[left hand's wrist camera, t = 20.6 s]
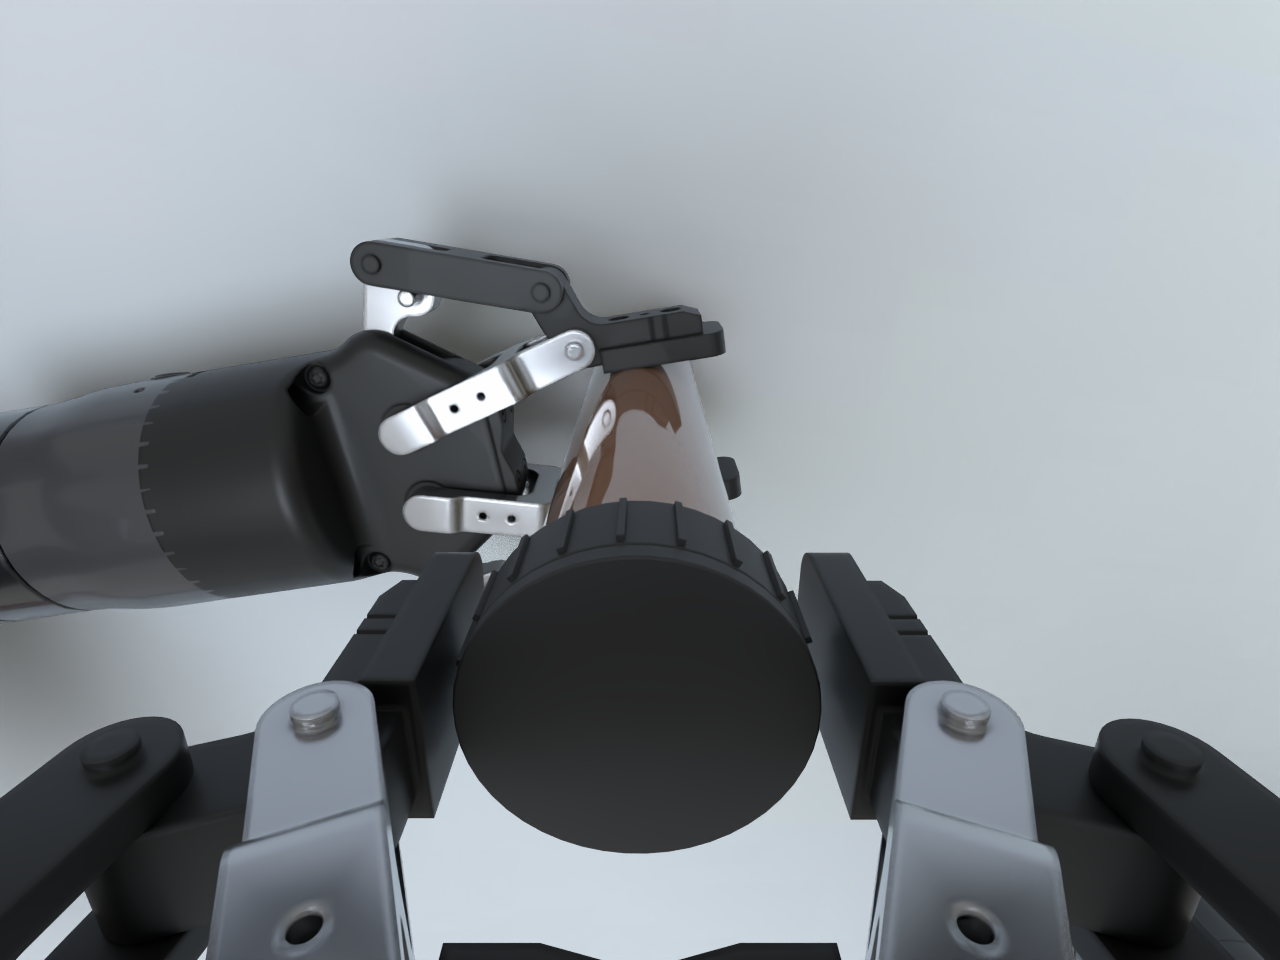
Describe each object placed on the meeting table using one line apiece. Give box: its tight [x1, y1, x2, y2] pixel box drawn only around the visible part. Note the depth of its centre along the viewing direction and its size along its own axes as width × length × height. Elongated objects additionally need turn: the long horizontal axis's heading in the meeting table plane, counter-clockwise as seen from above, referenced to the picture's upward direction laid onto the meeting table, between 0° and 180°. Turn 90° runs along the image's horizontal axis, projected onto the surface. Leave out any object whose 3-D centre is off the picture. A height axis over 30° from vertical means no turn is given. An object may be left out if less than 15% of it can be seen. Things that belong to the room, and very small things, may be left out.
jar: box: [543, 361, 737, 530], centre depth 19 cm, size 4×4×19 cm
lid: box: [452, 497, 822, 853], centre depth 10 cm, size 5×5×2 cm
